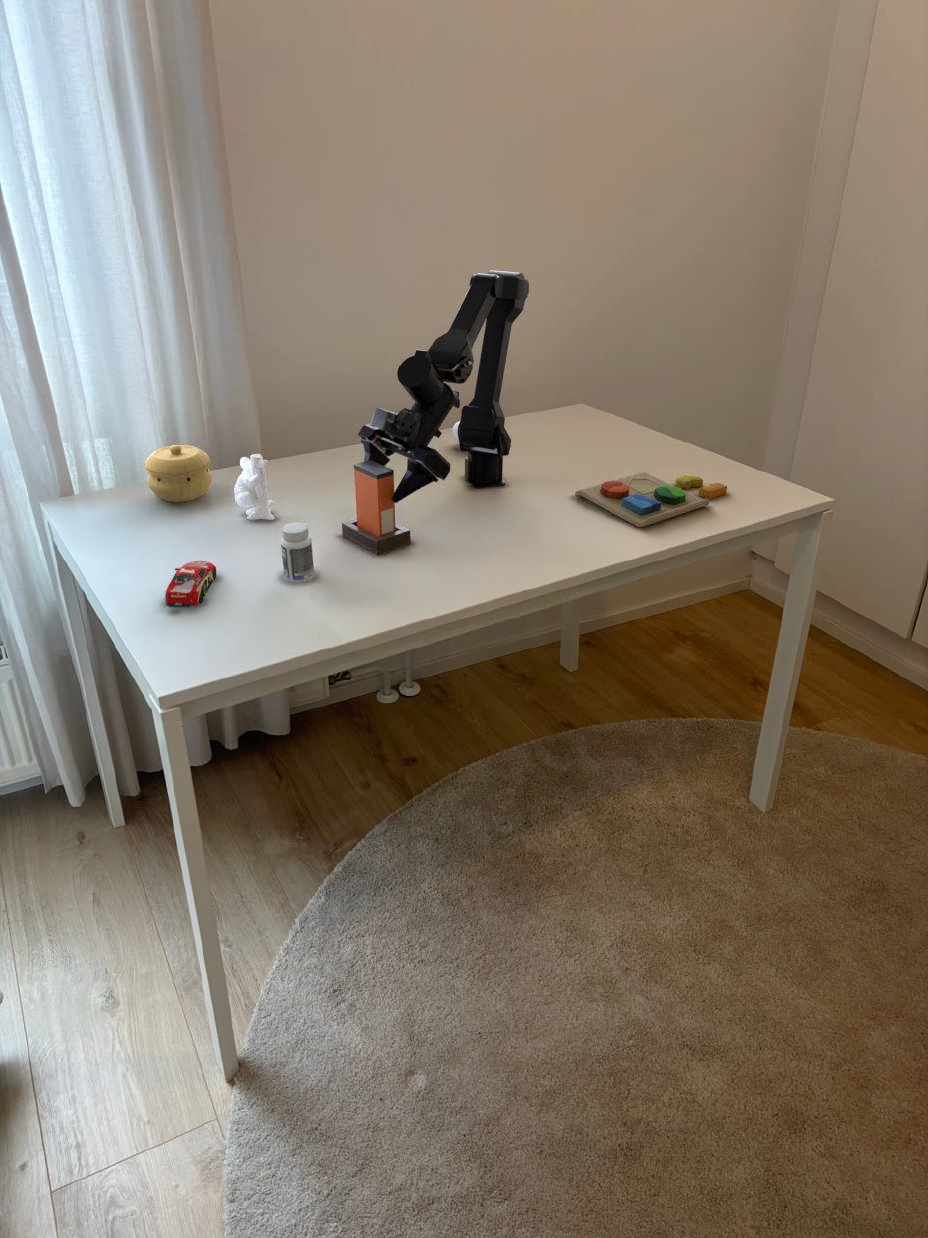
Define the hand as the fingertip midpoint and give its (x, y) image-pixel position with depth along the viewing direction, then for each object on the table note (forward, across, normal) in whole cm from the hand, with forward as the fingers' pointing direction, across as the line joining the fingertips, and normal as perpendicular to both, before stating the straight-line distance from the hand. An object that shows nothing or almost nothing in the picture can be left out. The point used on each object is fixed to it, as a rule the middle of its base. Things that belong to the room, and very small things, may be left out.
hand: (376, 493), depth 159 cm
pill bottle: (+19, +3, -7) cm, 20 cm away
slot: (+6, 0, +6) cm, 8 cm away
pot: (+18, -39, -6) cm, 43 cm away
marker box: (+6, 0, +5) cm, 8 cm away
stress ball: (-25, -26, +37) cm, 52 cm away
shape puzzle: (-29, +19, +42) cm, 55 cm away
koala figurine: (+13, -22, -1) cm, 26 cm away
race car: (+29, -3, -18) cm, 34 cm away
